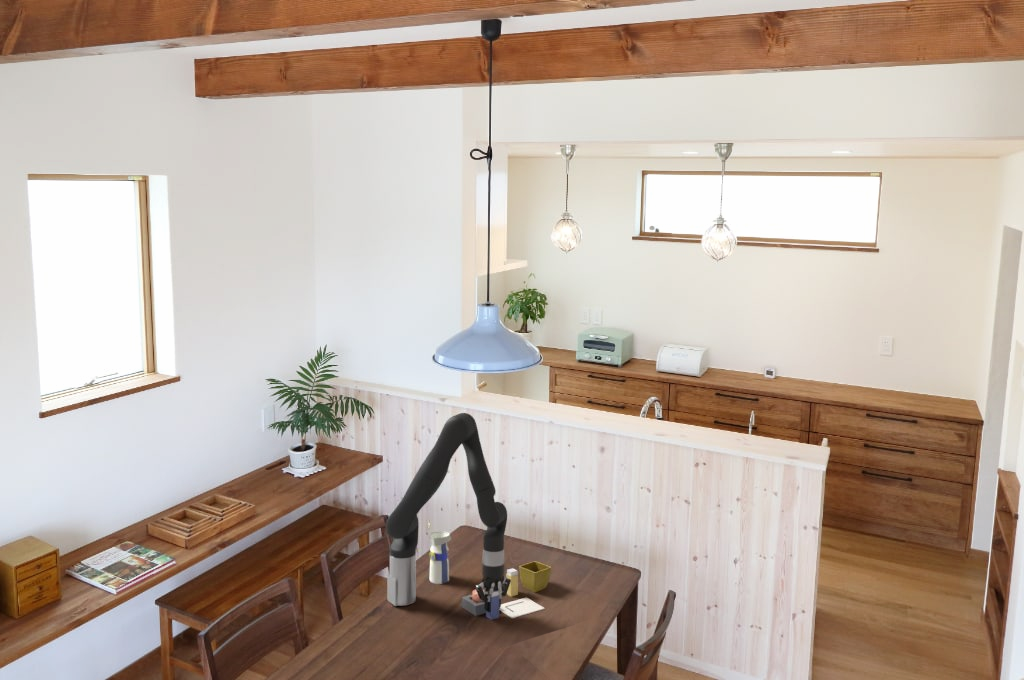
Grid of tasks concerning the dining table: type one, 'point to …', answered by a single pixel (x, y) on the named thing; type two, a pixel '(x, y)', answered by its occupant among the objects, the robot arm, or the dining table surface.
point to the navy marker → (494, 606)
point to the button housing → (473, 605)
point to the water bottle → (439, 556)
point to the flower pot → (534, 575)
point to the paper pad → (520, 607)
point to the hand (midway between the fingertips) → (492, 609)
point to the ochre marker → (512, 582)
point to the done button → (476, 597)
